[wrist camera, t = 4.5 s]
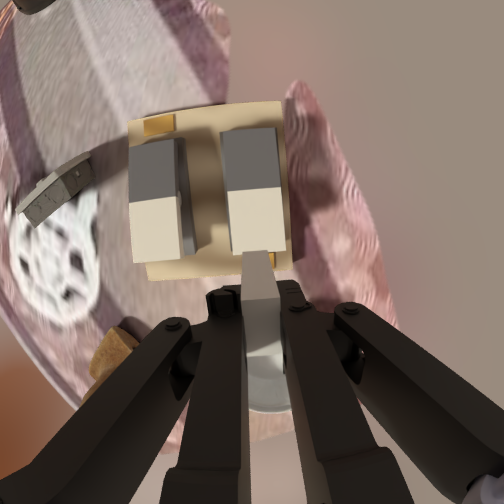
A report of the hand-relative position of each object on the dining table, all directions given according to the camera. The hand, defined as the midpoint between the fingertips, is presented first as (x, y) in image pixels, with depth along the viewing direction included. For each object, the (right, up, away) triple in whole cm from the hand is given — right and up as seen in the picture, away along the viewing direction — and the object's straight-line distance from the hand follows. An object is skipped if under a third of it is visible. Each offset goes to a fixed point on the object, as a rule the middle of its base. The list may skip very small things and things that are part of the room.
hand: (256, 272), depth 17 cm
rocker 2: (0, +7, +10) cm, 12 cm away
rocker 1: (-10, +6, +10) cm, 16 cm away
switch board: (-5, +8, +15) cm, 18 cm away
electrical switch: (-24, +11, +14) cm, 30 cm away
